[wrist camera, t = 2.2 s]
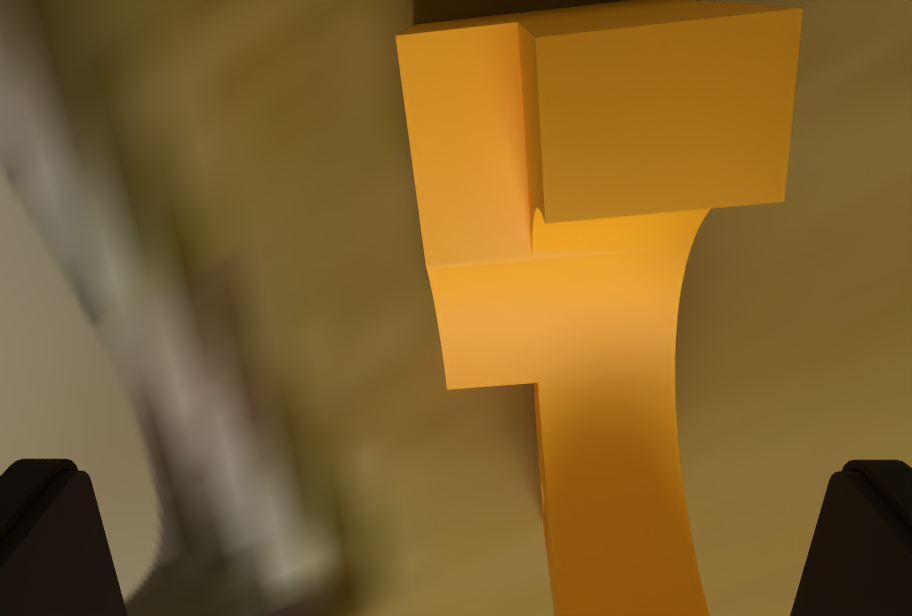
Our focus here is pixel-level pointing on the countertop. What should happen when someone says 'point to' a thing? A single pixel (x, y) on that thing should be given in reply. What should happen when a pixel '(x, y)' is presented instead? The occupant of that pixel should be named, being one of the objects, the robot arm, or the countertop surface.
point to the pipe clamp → (592, 245)
